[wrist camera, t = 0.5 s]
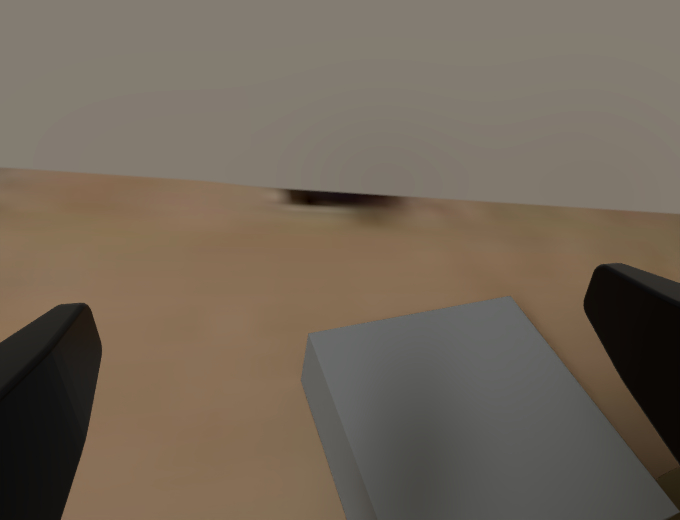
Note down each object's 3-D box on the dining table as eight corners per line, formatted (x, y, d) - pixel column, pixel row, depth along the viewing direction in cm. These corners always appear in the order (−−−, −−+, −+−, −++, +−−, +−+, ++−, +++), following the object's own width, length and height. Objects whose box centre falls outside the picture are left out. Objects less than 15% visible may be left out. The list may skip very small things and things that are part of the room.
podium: (625, 544, 22) (680, 512, 19) (390, 650, 18) (418, 627, 15) (485, 339, 30) (510, 295, 27) (300, 380, 26) (308, 333, 23)
